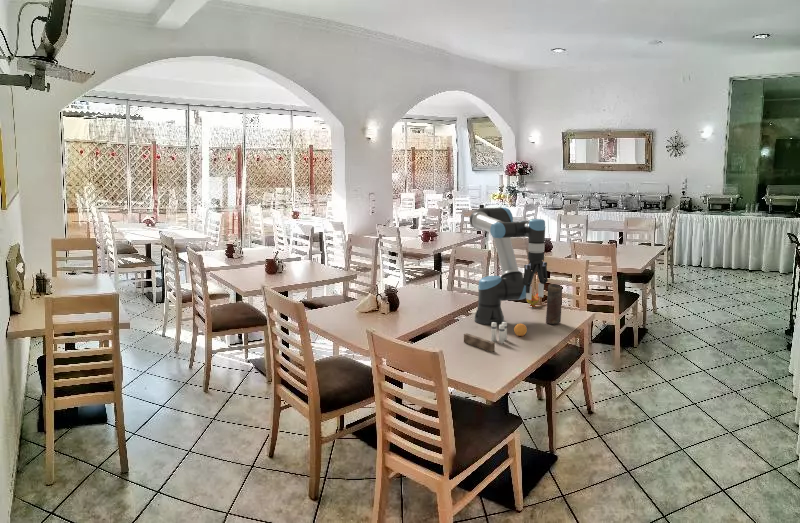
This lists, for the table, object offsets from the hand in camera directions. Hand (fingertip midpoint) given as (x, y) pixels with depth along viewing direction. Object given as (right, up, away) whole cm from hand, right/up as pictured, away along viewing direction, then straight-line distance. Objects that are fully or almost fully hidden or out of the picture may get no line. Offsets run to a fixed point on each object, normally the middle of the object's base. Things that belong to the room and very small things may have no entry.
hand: (534, 297), depth 287 cm
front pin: (-16, -19, -9) cm, 27 cm away
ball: (-8, -15, -3) cm, 17 cm away
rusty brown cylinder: (+14, -14, +18) cm, 27 cm away
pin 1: (-21, -19, -9) cm, 30 cm away
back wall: (-30, -21, -18) cm, 41 cm away
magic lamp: (+12, -8, +54) cm, 55 cm away
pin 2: (-18, -20, -13) cm, 30 cm away
